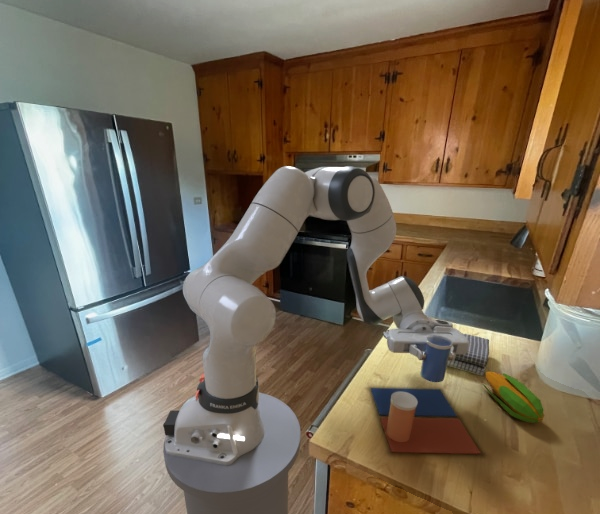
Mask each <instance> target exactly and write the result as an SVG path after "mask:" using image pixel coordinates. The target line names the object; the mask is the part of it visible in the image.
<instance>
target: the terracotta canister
mask: <svg viewBox="0 0 600 514" xmlns="http://www.w3.org/2000/svg"><path fill="white" fill-rule="evenodd" d="M417 403H418V401H417V399H416V398H415V397H414V396H413V395H412V394H410V393H407V392H402V391H399V392H395V393H393V394H392V395H391V403H390V410H389V415H387V416H388V422H387V429H386V433H387V435H388V436H389V437H390V438H391V439H392V440H394V441H396V442H406V441H408V440H409V439H410V437H411V431H412V426H413V421H414V418H415V417H416V416H415V411H416V407H417Z"/></svg>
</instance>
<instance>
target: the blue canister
mask: <svg viewBox="0 0 600 514" xmlns="http://www.w3.org/2000/svg"><path fill="white" fill-rule="evenodd" d="M451 347H452V341H451V340H450V339H448V338H446V337H444V336H440V335H429V336H427V338H426V345H425V350H424V351H425V353H426V360H421V361H422V362H421V366H420V371H419V375H420V377H421V378H422V379H424V380H425V381H427V382H430V383H442V382H443V381H444V380H445V376H446V371H447V367H448V366H447V364H448V359H449V355H450V350H451Z"/></svg>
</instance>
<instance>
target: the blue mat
mask: <svg viewBox="0 0 600 514" xmlns="http://www.w3.org/2000/svg"><path fill="white" fill-rule="evenodd" d="M370 391H371V395H372V398H373V400H374V404H375V406H376V409H377V413H378V416H389V410H390V403H391V395H392V394H393V393H395V392H399V391H402V392H407V393H410V394H412V395H413V396H414V397H415V398H416V399H417V401H418V403H417V407H416V411H415V416H414V417H445V418H446V417H450V418H453V417H454V418H455V417H456V418H457V417H458V416H457V414H456V412H455V410H454V409H453V408H452V405H451V404H450V403H449V401H448V400H447V398H446V396H445V395H444V393H443V392H442V390H441V389H440V388H439V389H438V388H437V389H436V388H393V387H392V388H391V387H389V388H388V387H386V388H385V387H383V388H381V387H370Z"/></svg>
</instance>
